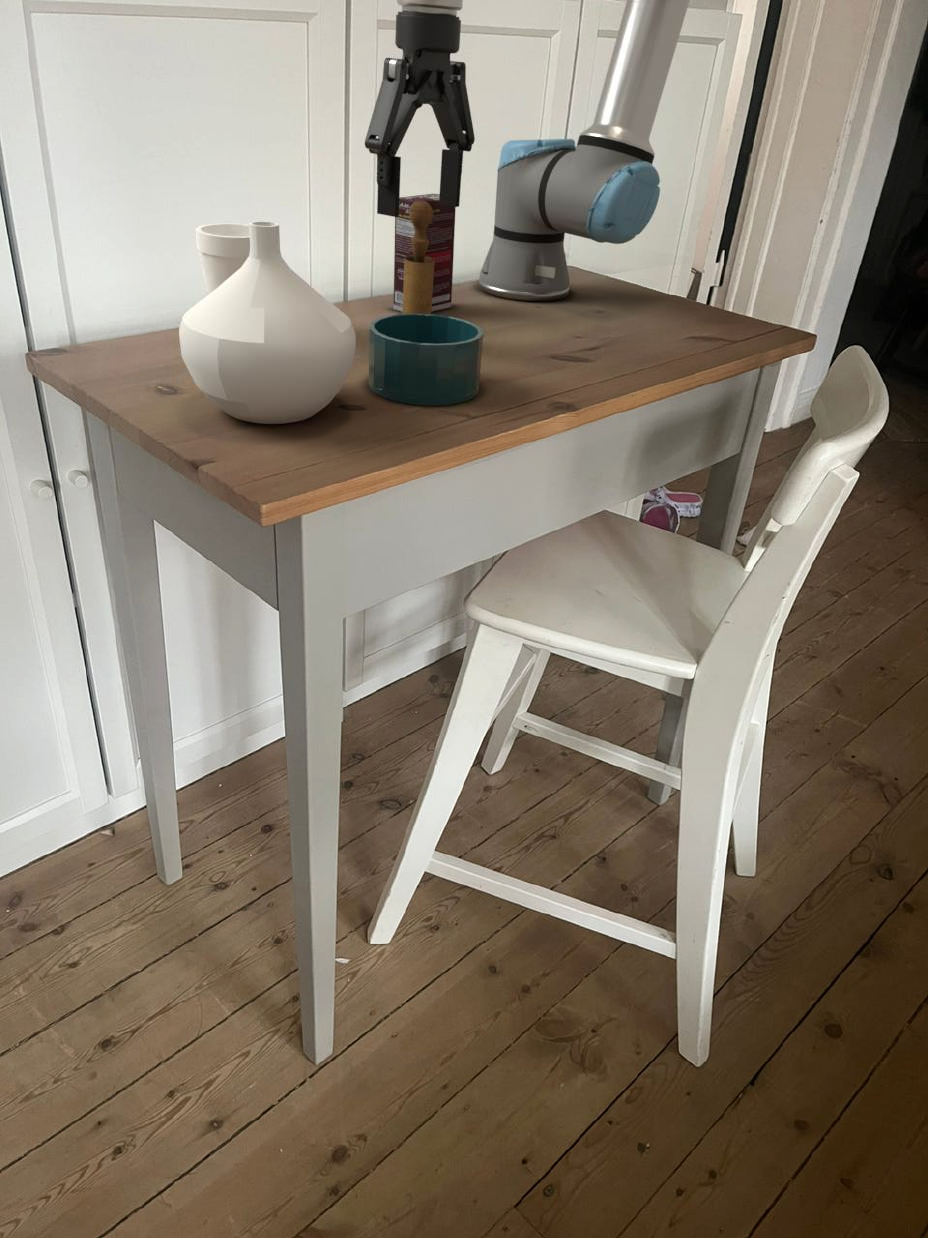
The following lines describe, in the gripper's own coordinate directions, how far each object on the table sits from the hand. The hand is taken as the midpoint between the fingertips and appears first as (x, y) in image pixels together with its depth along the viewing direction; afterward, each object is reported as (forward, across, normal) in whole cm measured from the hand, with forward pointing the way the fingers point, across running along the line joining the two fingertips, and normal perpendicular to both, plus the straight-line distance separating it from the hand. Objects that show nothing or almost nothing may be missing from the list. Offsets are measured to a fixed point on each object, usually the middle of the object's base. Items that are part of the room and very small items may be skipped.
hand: (419, 210), depth 120 cm
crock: (+17, +14, +11) cm, 25 cm away
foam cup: (+17, +13, -20) cm, 29 cm away
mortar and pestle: (+17, 0, 0) cm, 17 cm away
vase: (+18, +32, +3) cm, 36 cm away
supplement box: (+17, -16, -10) cm, 26 cm away
